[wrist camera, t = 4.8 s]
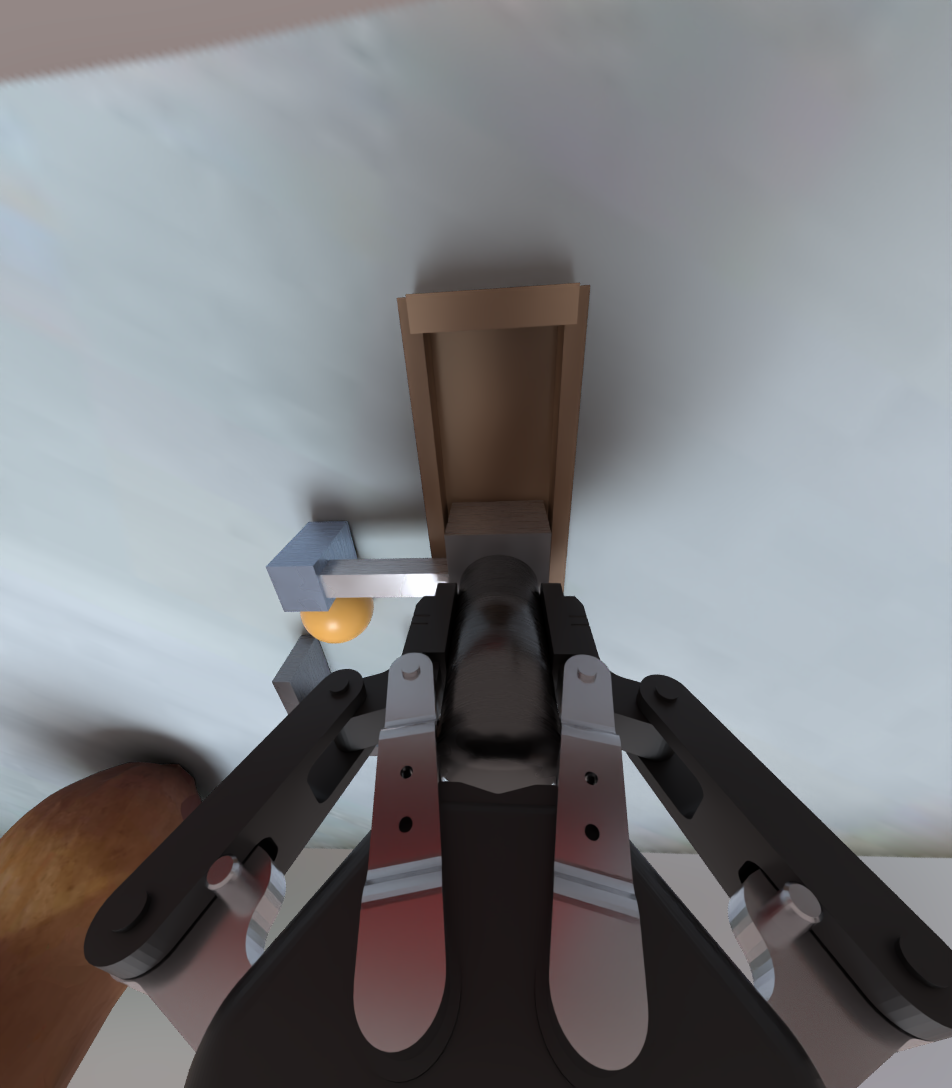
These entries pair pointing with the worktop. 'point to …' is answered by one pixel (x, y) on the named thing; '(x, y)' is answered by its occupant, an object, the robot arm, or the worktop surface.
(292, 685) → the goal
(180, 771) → the butternut squash
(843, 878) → the robot arm
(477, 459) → the brown long open box
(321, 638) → the ball
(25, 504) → the worktop surface
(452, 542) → the kicker
